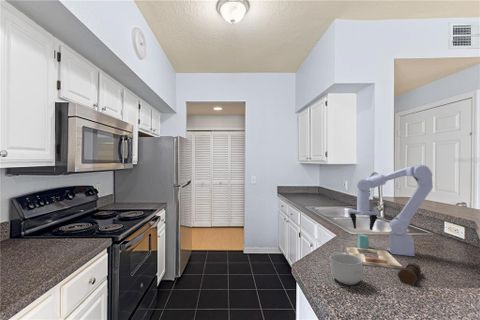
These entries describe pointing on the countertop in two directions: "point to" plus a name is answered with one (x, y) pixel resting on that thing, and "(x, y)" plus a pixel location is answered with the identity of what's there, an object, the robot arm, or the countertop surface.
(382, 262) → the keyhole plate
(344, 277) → the teacup
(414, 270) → the bolt
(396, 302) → the countertop surface
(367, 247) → the slider block
